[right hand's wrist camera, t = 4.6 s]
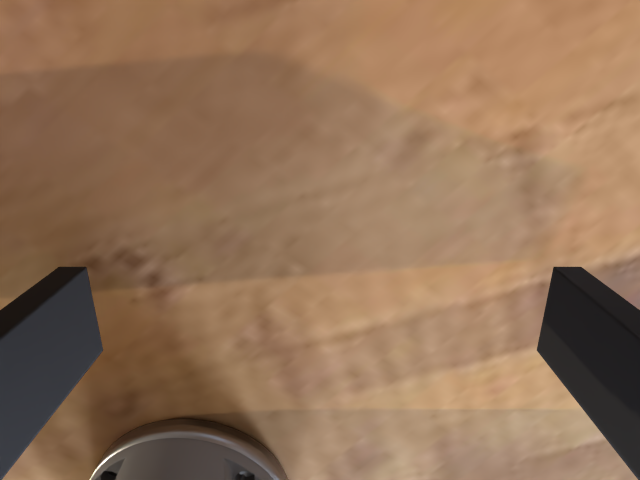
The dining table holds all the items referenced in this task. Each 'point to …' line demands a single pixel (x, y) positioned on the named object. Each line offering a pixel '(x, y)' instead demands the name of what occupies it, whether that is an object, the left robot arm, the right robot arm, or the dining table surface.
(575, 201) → the dining table surface
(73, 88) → the dining table surface
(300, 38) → the dining table surface
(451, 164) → the dining table surface
